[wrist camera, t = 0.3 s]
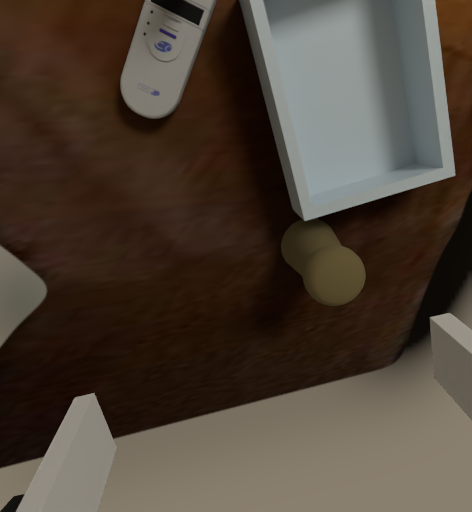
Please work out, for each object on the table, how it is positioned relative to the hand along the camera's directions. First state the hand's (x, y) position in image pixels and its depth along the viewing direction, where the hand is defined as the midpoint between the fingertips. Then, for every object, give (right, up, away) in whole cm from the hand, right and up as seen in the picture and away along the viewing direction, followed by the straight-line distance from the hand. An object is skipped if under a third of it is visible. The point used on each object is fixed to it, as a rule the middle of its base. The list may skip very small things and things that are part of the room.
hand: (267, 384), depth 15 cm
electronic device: (-7, +25, +21) cm, 33 cm away
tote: (+9, +21, +22) cm, 32 cm away
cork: (+7, +6, +27) cm, 29 cm away
